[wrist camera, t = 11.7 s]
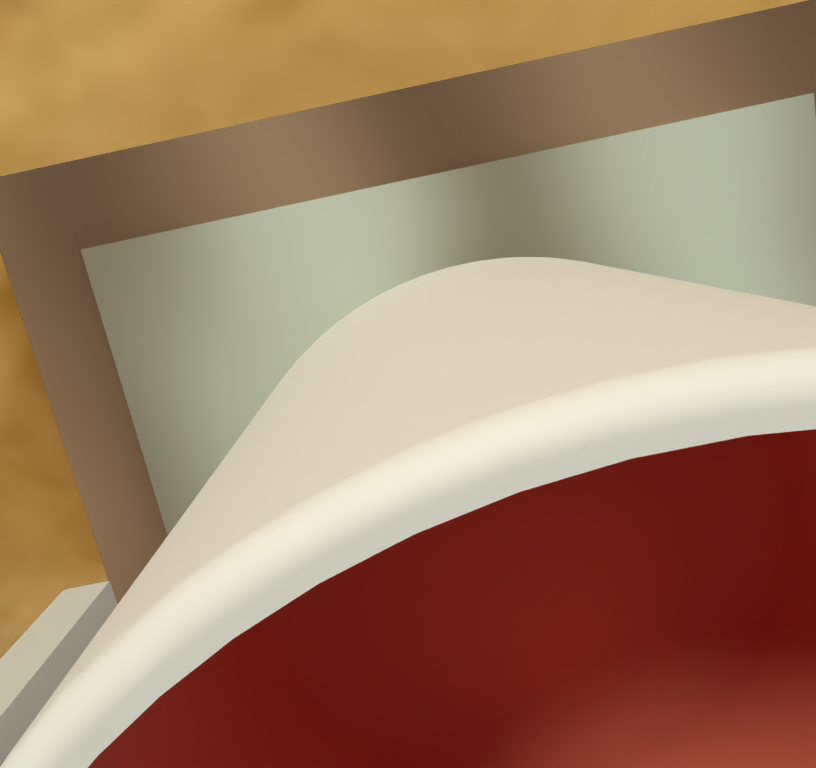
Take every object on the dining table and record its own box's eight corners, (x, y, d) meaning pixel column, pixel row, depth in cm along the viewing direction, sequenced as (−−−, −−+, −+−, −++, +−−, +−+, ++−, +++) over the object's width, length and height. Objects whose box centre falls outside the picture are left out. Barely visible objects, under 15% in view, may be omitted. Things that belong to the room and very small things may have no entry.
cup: (500, 130, 12) (937, -257, 2) (868, 497, 14) (2030, 1166, 4) (139, 533, 14) (-506, 1314, 4) (509, 821, 15) (716, 1883, 5)
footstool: (270, 701, 23) (213, 914, 16) (126, 197, 19) (-30, 180, 12) (765, 606, 22) (935, 782, 15) (709, 71, 19) (896, -22, 12)
